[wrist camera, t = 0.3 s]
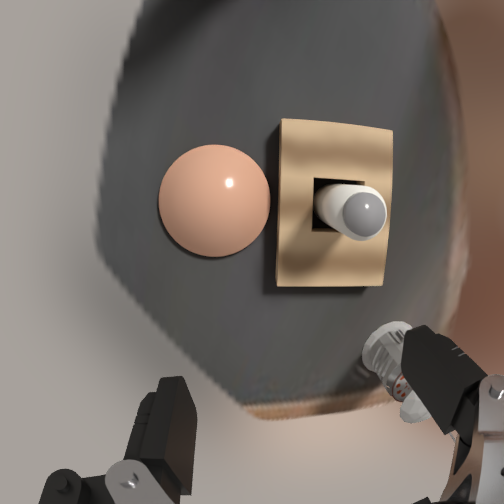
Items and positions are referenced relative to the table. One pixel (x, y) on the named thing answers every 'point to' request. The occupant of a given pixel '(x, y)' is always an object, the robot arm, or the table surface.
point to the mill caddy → (301, 202)
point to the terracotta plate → (214, 200)
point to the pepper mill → (351, 210)
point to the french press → (394, 369)
